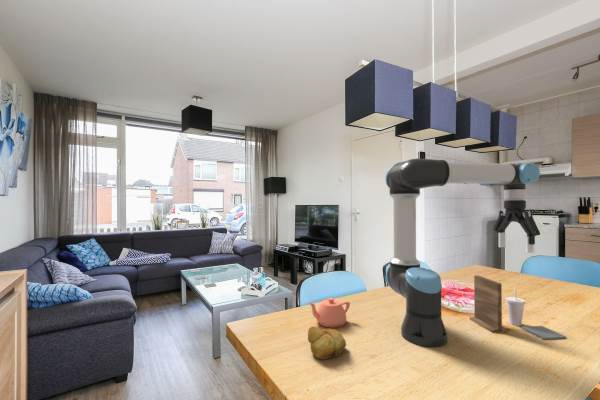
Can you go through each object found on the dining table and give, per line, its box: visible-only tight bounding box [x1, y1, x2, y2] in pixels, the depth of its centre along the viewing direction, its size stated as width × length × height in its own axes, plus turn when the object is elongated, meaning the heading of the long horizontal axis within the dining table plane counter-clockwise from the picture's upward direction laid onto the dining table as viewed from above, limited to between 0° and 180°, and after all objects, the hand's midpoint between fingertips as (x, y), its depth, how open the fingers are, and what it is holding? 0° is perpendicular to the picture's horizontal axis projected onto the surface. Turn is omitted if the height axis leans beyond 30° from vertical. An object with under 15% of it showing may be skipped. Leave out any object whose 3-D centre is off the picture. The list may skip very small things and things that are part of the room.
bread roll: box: [307, 326, 347, 360], centre depth 91 cm, size 13×10×8 cm
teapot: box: [307, 297, 351, 329], centre depth 115 cm, size 12×18×10 cm
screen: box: [469, 274, 508, 334], centre depth 111 cm, size 6×12×18 cm, turn 6°
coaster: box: [520, 325, 567, 340], centre depth 105 cm, size 9×9×1 cm
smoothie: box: [504, 288, 526, 327], centre depth 113 cm, size 6×6×14 cm
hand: (515, 249), depth 121 cm, fingers open, 13 cm apart
